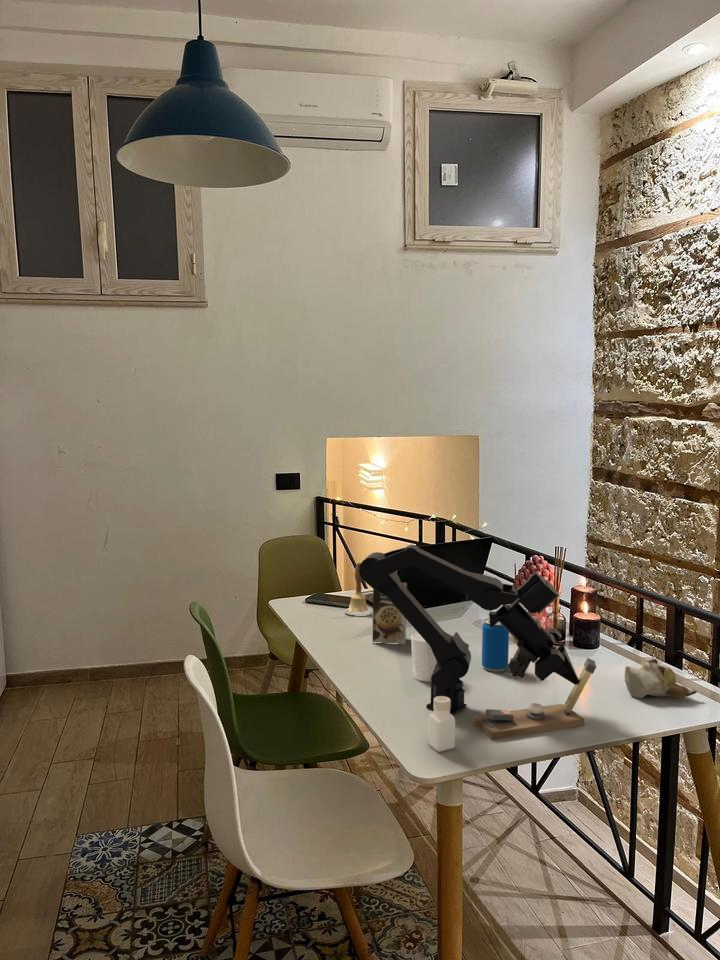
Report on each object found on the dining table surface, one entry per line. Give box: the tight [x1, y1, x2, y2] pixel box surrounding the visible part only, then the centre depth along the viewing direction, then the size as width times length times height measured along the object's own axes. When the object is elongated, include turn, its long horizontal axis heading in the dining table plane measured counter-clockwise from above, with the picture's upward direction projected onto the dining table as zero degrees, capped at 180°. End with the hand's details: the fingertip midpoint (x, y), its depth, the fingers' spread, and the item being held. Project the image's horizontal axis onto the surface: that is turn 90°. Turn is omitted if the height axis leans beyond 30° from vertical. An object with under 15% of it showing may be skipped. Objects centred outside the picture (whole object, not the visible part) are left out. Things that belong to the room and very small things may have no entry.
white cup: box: [410, 631, 437, 683], centre depth 178 cm, size 8×8×10 cm
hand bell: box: [347, 562, 369, 612], centre depth 232 cm, size 8×8×16 cm
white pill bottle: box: [427, 696, 456, 753], centre depth 141 cm, size 4×4×10 cm
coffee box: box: [371, 582, 408, 644], centre depth 205 cm, size 9×6×16 cm
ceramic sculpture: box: [624, 658, 698, 699], centre depth 167 cm, size 11×9×15 cm
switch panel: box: [473, 703, 586, 741], centre depth 152 cm, size 8×21×2 cm, turn 108°
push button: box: [528, 702, 543, 714], centre depth 152 cm, size 3×3×1 cm
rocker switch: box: [484, 708, 514, 720], centre depth 149 cm, size 3×5×1 cm, turn 108°
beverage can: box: [481, 617, 510, 673], centre depth 184 cm, size 6×6×12 cm
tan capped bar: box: [563, 657, 597, 715], centre depth 154 cm, size 2×4×12 cm, turn 166°
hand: (577, 682), depth 154 cm, fingers closed, pressing on tan capped bar
